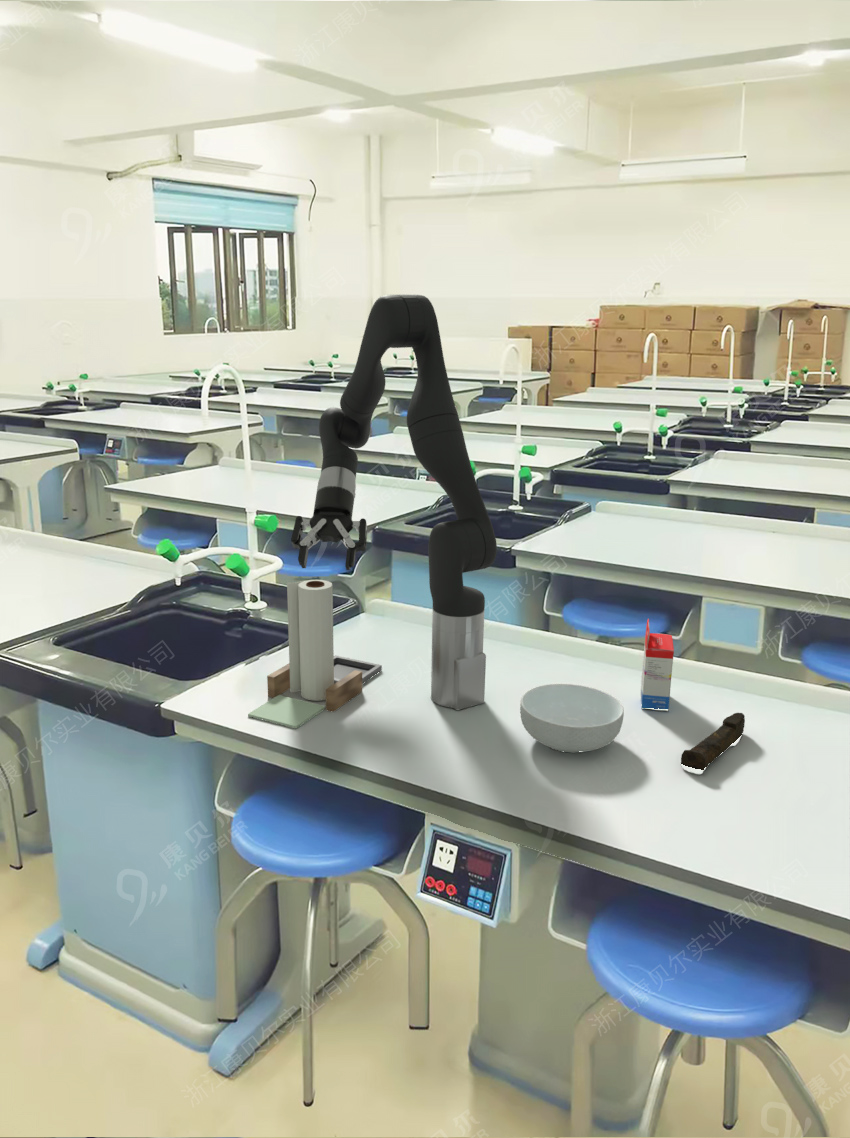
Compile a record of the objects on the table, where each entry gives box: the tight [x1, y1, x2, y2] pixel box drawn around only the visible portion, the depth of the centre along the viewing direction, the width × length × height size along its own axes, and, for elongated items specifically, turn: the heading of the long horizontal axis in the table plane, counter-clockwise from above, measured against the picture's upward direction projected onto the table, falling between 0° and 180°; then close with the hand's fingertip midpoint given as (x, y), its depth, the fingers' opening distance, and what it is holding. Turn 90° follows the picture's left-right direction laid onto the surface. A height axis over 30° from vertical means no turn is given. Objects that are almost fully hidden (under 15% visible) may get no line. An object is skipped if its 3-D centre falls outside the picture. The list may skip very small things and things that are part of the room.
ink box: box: [640, 618, 675, 710], centre depth 166 cm, size 8×5×15 cm, turn 168°
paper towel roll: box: [286, 579, 335, 702], centre depth 166 cm, size 7×6×21 cm
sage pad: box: [247, 694, 326, 729], centre depth 162 cm, size 9×10×1 cm
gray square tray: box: [334, 655, 383, 685], centre depth 178 cm, size 11×11×1 cm
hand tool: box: [680, 712, 746, 770], centre depth 149 cm, size 19×4×5 cm, turn 136°
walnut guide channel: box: [266, 663, 363, 713], centre depth 169 cm, size 10×14×4 cm
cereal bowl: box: [519, 683, 625, 753], centre depth 152 cm, size 17×17×7 cm
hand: (325, 567), depth 175 cm, fingers open, 8 cm apart
